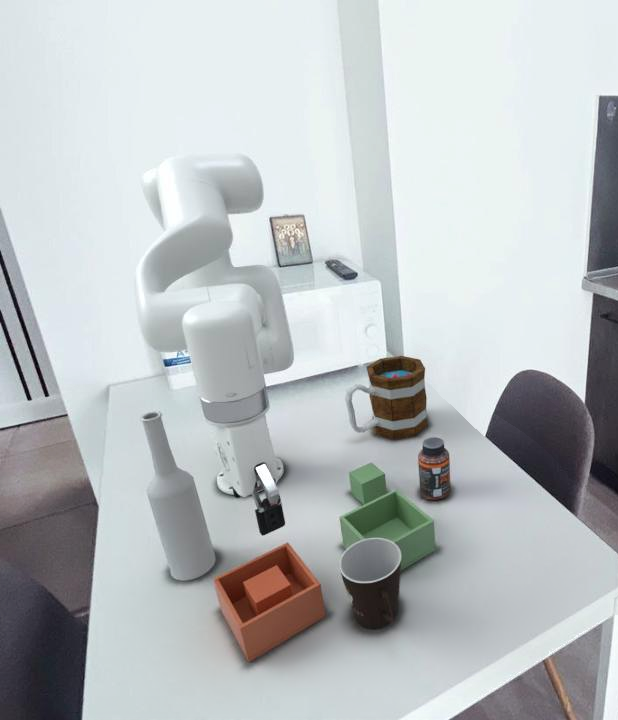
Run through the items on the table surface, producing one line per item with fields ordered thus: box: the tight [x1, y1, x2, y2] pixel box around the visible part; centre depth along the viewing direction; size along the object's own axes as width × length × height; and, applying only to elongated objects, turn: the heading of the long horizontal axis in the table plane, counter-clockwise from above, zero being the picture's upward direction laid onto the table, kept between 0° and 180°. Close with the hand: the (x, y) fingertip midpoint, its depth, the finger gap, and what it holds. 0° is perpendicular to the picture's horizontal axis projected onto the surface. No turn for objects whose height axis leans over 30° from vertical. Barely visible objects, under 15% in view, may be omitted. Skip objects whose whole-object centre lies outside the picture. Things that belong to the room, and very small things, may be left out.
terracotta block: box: [243, 565, 293, 617], centre depth 79 cm, size 5×5×5 cm
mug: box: [344, 355, 429, 441], centre depth 124 cm, size 20×14×15 cm
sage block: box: [348, 462, 388, 506], centre depth 104 cm, size 5×5×5 cm
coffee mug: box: [338, 538, 402, 631], centre depth 77 cm, size 12×9×10 cm
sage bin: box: [338, 488, 436, 572], centre depth 91 cm, size 11×11×6 cm
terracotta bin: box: [212, 542, 327, 663], centre depth 79 cm, size 11×11×6 cm
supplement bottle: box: [417, 436, 451, 501], centre depth 103 cm, size 6×6×11 cm
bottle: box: [139, 410, 217, 582], centre depth 83 cm, size 7×7×28 cm
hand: (259, 510), depth 74 cm, fingers open, 9 cm apart
